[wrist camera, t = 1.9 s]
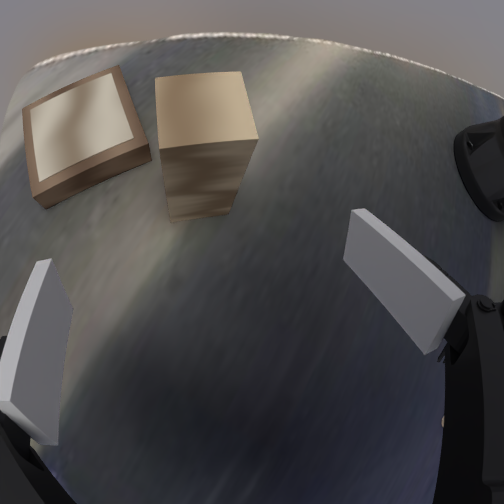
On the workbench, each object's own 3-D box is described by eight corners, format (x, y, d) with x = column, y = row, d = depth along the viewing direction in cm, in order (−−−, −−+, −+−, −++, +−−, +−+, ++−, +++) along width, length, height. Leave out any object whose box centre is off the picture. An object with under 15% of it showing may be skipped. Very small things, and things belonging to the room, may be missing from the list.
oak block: (219, 163, 27) (240, 71, 16) (228, 214, 27) (258, 138, 15) (164, 170, 26) (155, 78, 15) (170, 222, 25) (159, 149, 14)
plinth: (122, 83, 27) (118, 63, 24) (151, 160, 26) (148, 142, 23) (32, 124, 24) (21, 107, 21) (46, 209, 23) (31, 196, 20)
